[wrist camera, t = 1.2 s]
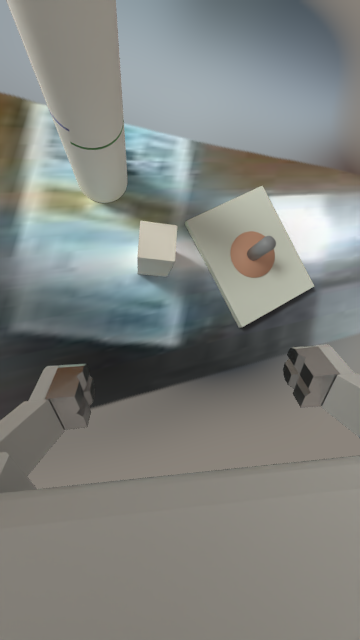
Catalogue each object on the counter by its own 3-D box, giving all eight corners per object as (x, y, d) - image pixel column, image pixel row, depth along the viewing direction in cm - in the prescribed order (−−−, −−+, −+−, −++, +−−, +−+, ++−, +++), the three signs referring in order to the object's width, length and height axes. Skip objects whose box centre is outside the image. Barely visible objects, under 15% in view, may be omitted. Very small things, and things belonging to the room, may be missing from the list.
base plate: (184, 224, 39) (193, 203, 33) (258, 189, 41) (279, 164, 35) (239, 327, 39) (257, 326, 33) (309, 287, 42) (338, 279, 36)
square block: (167, 276, 38) (175, 261, 30) (137, 273, 37) (137, 257, 29) (169, 248, 38) (177, 225, 30) (139, 244, 38) (140, 220, 30)
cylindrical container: (99, 146, 37) (24, -218, 13) (137, 178, 38) (136, -109, 13) (66, 180, 36) (-83, -146, 12) (106, 212, 37) (44, -32, 12)
